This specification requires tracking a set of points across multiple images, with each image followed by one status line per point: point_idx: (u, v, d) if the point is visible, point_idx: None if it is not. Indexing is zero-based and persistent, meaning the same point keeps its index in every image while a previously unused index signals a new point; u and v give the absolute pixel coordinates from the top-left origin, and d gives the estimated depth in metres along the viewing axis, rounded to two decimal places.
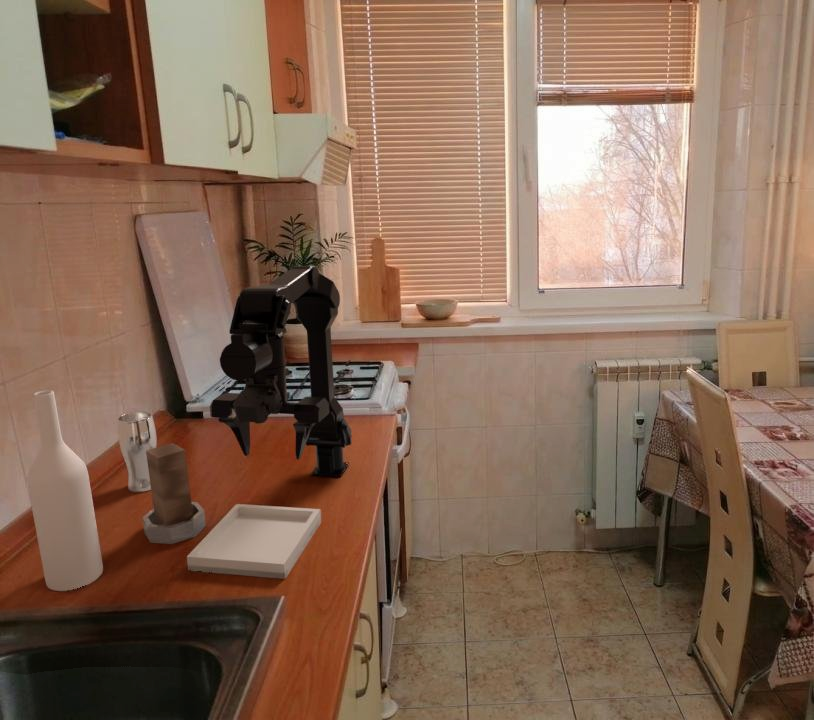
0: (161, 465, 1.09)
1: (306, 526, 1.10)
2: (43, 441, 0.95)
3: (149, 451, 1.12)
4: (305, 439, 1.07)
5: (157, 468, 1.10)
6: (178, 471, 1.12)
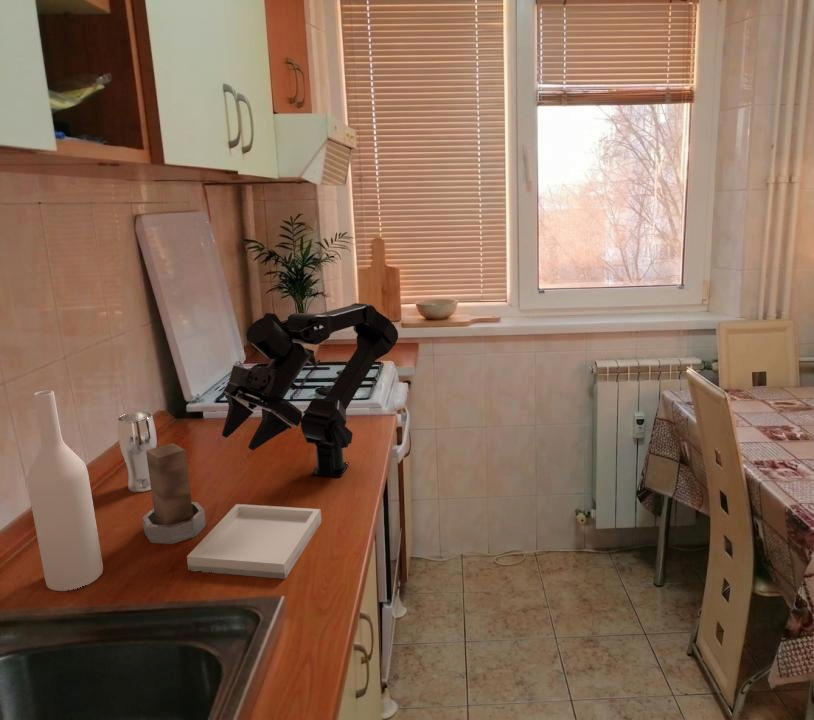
0: (161, 465, 1.09)
1: (306, 526, 1.10)
2: (43, 441, 0.95)
3: (149, 451, 1.12)
4: (265, 436, 1.16)
5: (157, 468, 1.10)
6: (178, 471, 1.12)
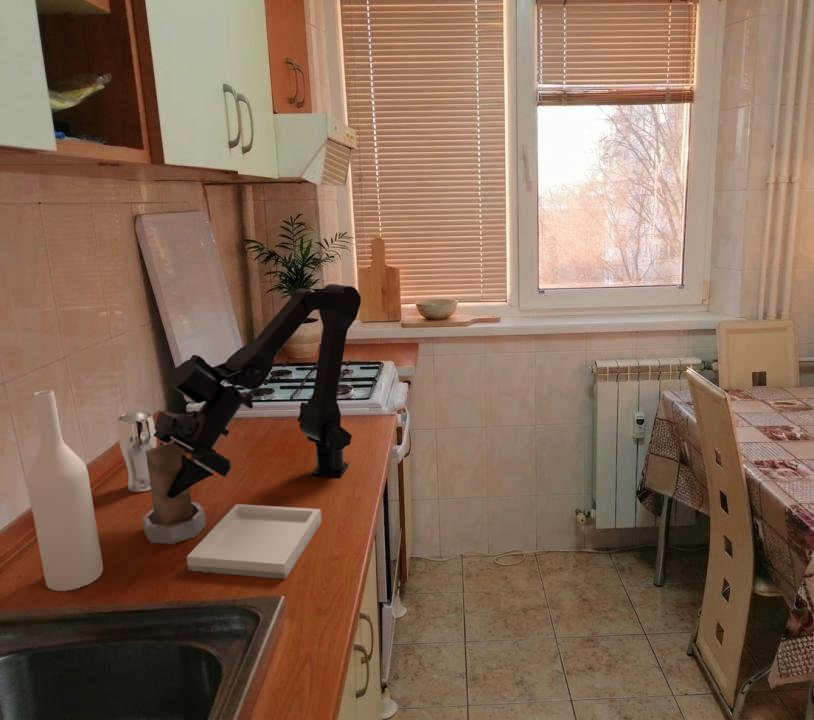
0: (160, 465, 1.09)
1: (306, 526, 1.10)
2: (43, 441, 0.95)
3: (148, 451, 1.12)
4: (186, 483, 1.12)
5: (157, 468, 1.10)
6: (178, 471, 1.12)
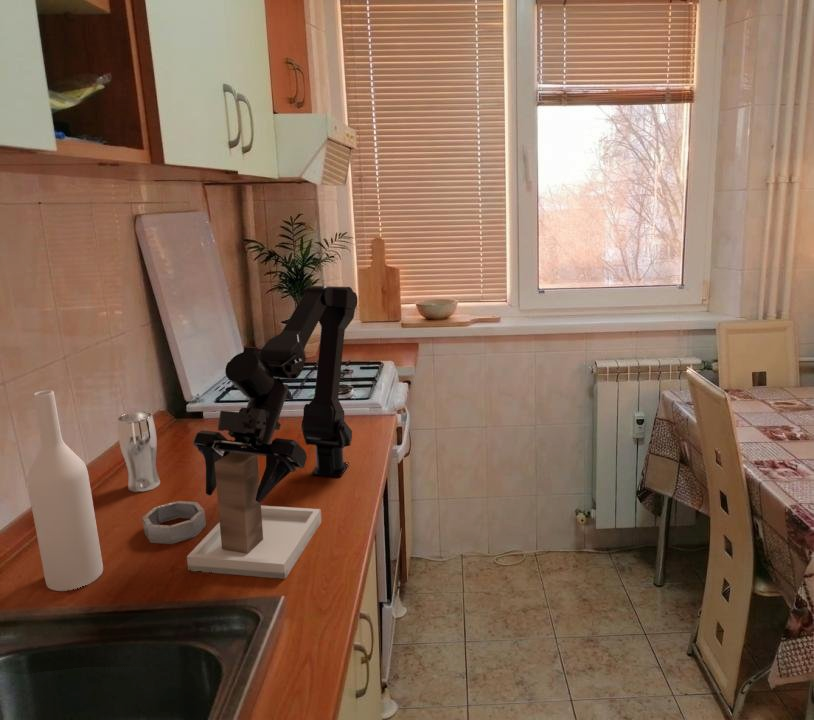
0: (242, 473, 1.02)
1: (306, 526, 1.10)
2: (43, 441, 0.95)
3: (219, 462, 1.03)
4: (271, 484, 1.05)
5: (238, 477, 1.02)
6: (253, 478, 1.05)
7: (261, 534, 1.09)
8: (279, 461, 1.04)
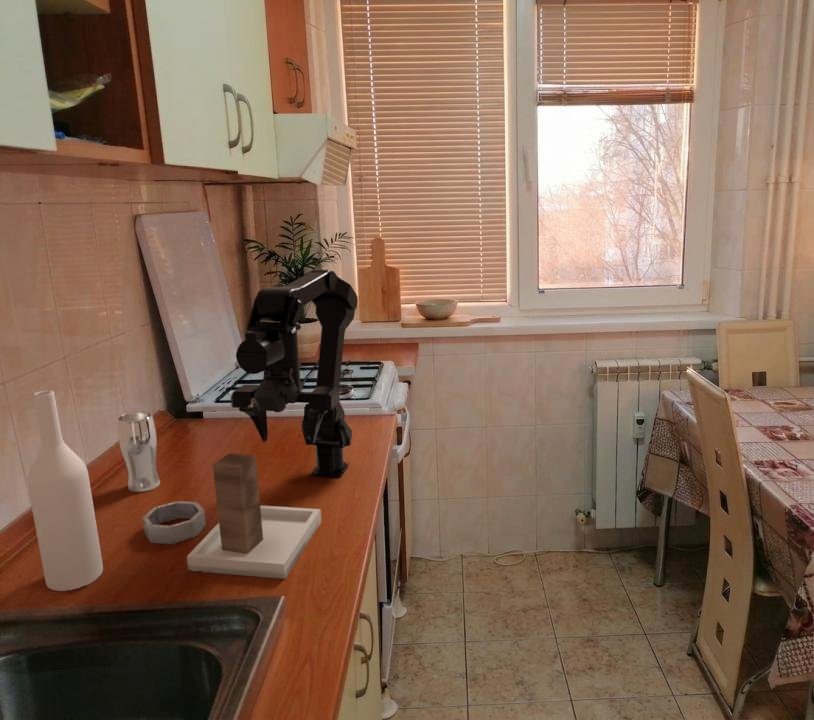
0: (241, 474, 1.02)
1: (306, 526, 1.10)
2: (43, 441, 0.95)
3: (217, 464, 1.03)
4: (318, 425, 1.18)
5: (236, 479, 1.02)
6: (252, 479, 1.05)
7: (261, 534, 1.09)
8: None
